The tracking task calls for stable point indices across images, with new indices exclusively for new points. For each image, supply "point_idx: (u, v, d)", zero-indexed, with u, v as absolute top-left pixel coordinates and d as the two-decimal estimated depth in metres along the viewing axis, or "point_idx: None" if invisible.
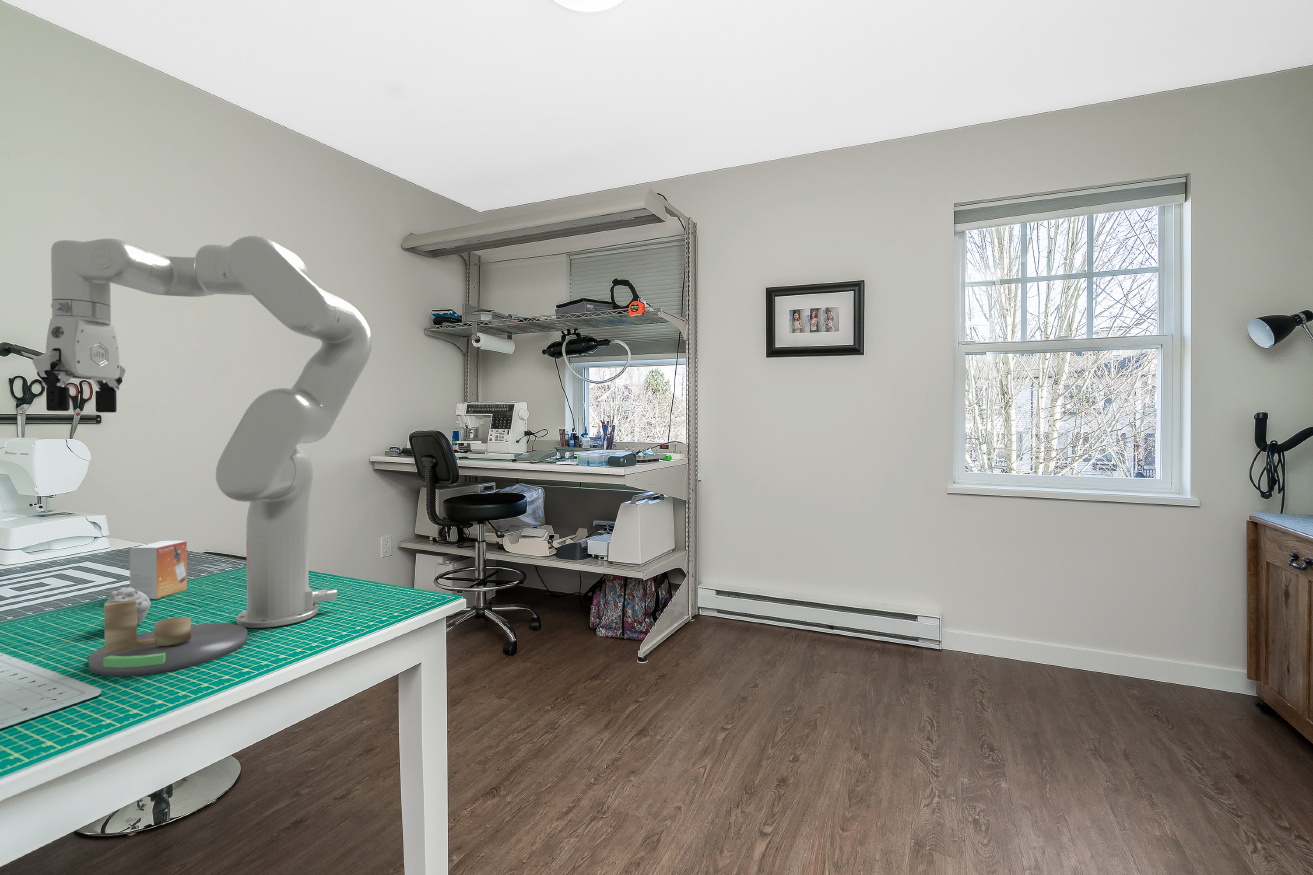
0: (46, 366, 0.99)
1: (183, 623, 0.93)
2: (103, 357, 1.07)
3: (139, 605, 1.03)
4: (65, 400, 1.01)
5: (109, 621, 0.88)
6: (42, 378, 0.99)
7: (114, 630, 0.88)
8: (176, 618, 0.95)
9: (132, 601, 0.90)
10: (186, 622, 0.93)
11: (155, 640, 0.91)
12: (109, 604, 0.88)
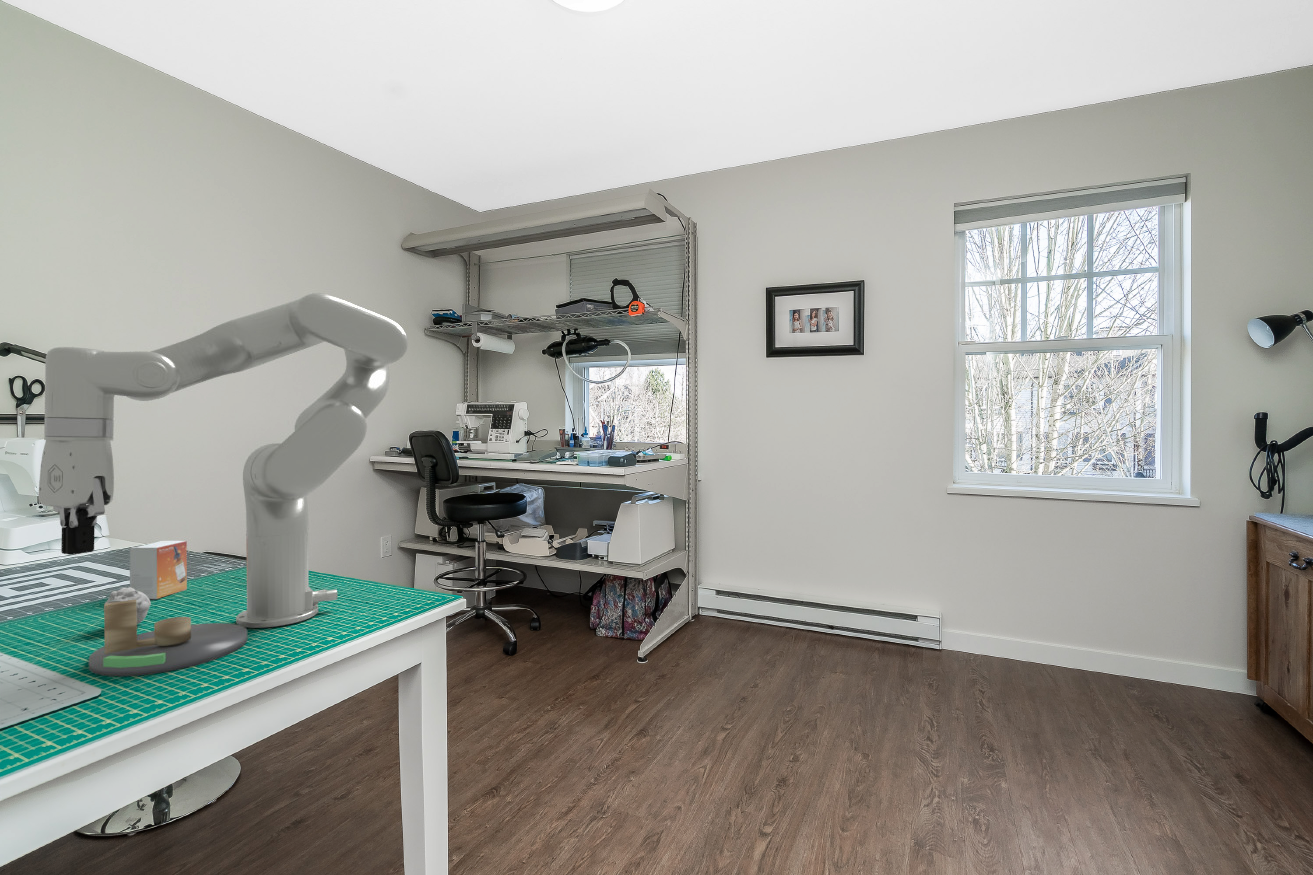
0: (58, 508, 0.92)
1: (183, 623, 0.93)
2: (59, 481, 0.88)
3: (139, 605, 1.03)
4: None
5: (109, 621, 0.88)
6: None
7: (114, 630, 0.88)
8: (176, 618, 0.95)
9: (132, 601, 0.90)
10: (186, 622, 0.93)
11: (155, 640, 0.91)
12: (109, 604, 0.88)
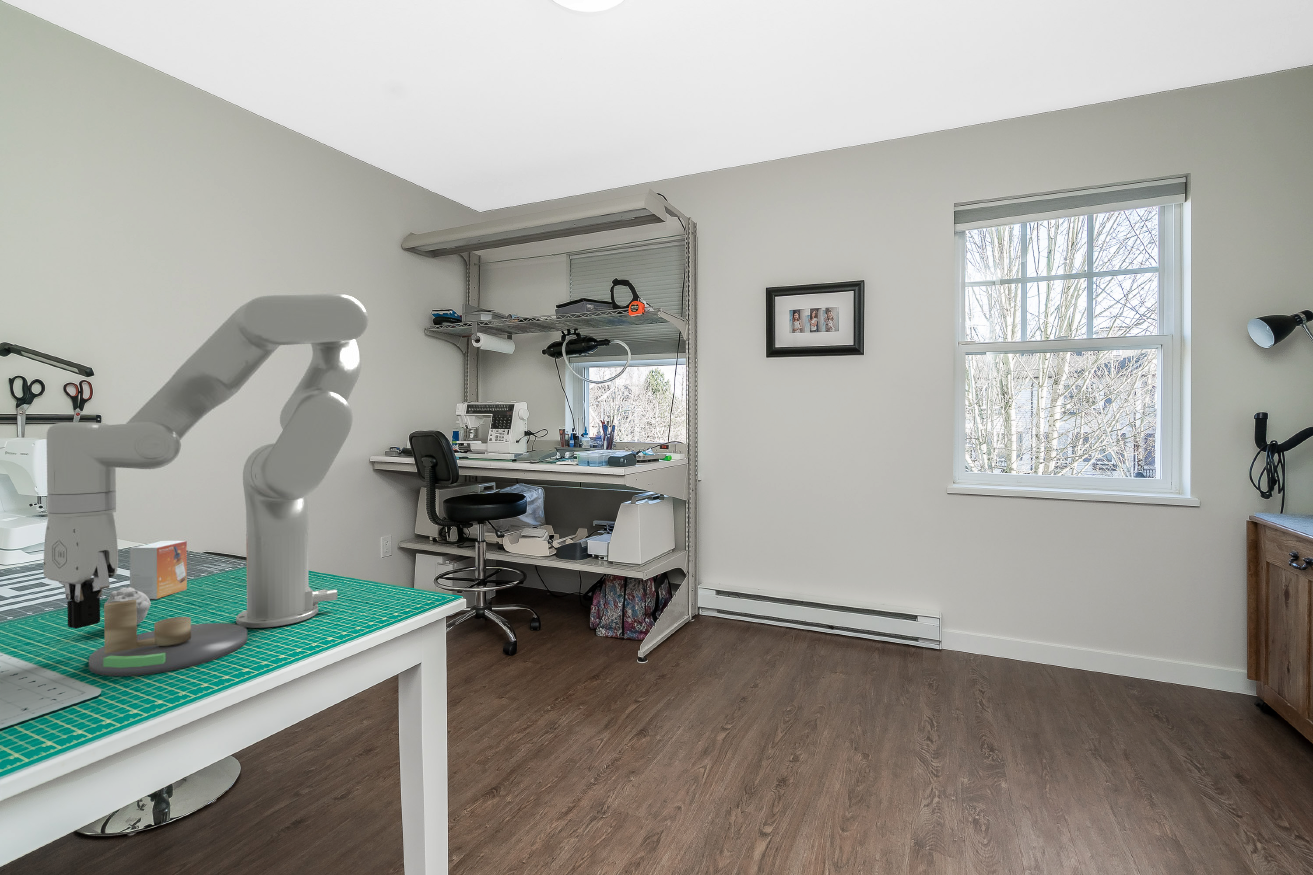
0: None
1: (183, 623, 0.93)
2: (63, 557, 0.88)
3: (139, 605, 1.03)
4: None
5: (109, 621, 0.88)
6: None
7: (114, 630, 0.88)
8: (176, 618, 0.95)
9: (132, 601, 0.90)
10: (186, 622, 0.93)
11: (155, 640, 0.91)
12: (109, 604, 0.88)
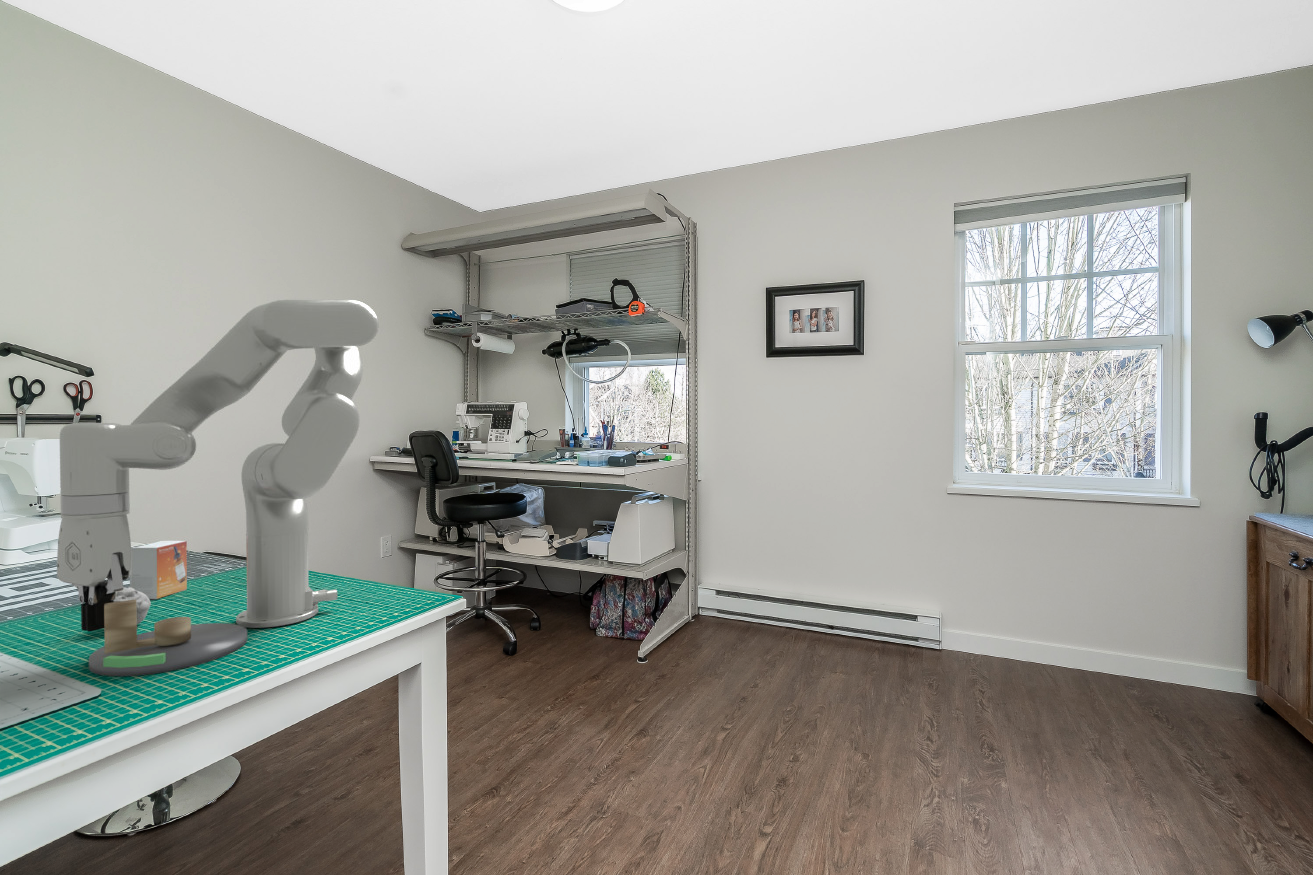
0: None
1: (183, 623, 0.93)
2: (76, 559, 0.87)
3: (139, 605, 1.03)
4: None
5: (109, 621, 0.88)
6: None
7: (114, 630, 0.88)
8: (176, 618, 0.95)
9: (132, 601, 0.90)
10: (186, 622, 0.93)
11: (155, 640, 0.91)
12: (109, 604, 0.88)
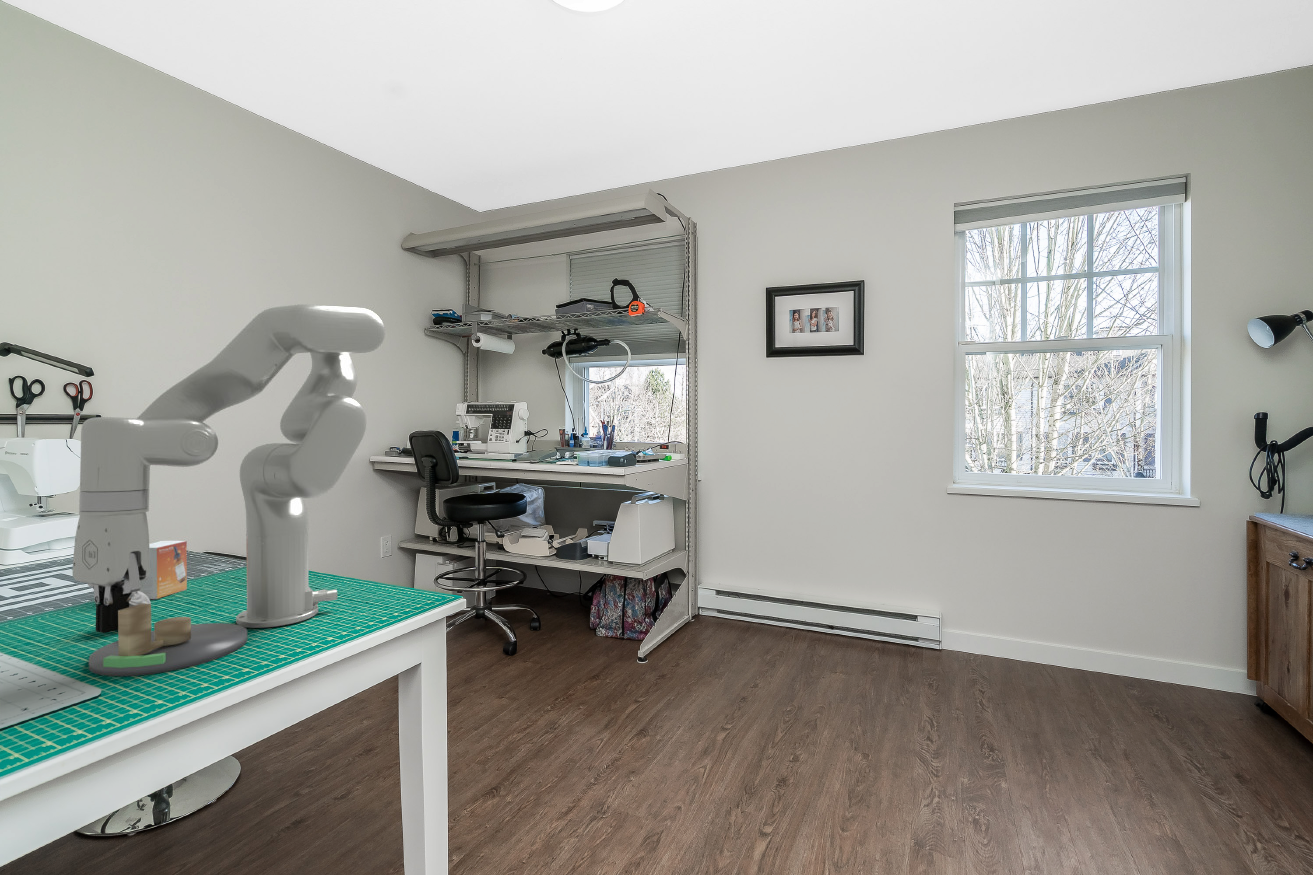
0: None
1: (190, 620, 0.94)
2: (93, 558, 0.84)
3: None
4: None
5: (131, 626, 0.86)
6: None
7: (135, 635, 0.86)
8: (167, 620, 0.94)
9: (145, 604, 0.88)
10: (190, 619, 0.95)
11: (165, 641, 0.91)
12: (127, 609, 0.86)
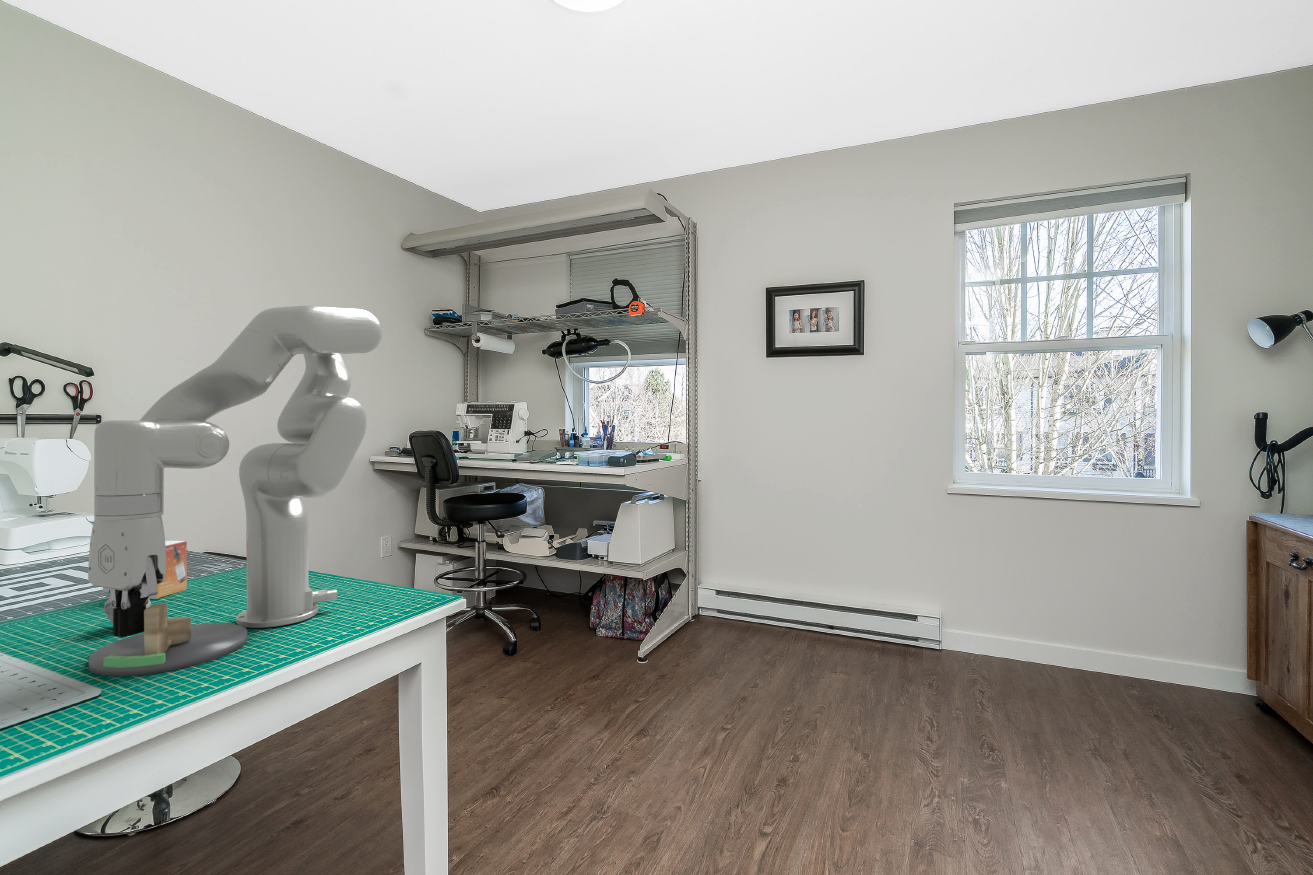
0: None
1: (189, 618, 0.95)
2: (110, 562, 0.84)
3: None
4: None
5: (158, 624, 0.87)
6: None
7: (160, 633, 0.87)
8: None
9: (161, 603, 0.89)
10: (188, 617, 0.95)
11: (173, 640, 0.92)
12: (152, 608, 0.86)
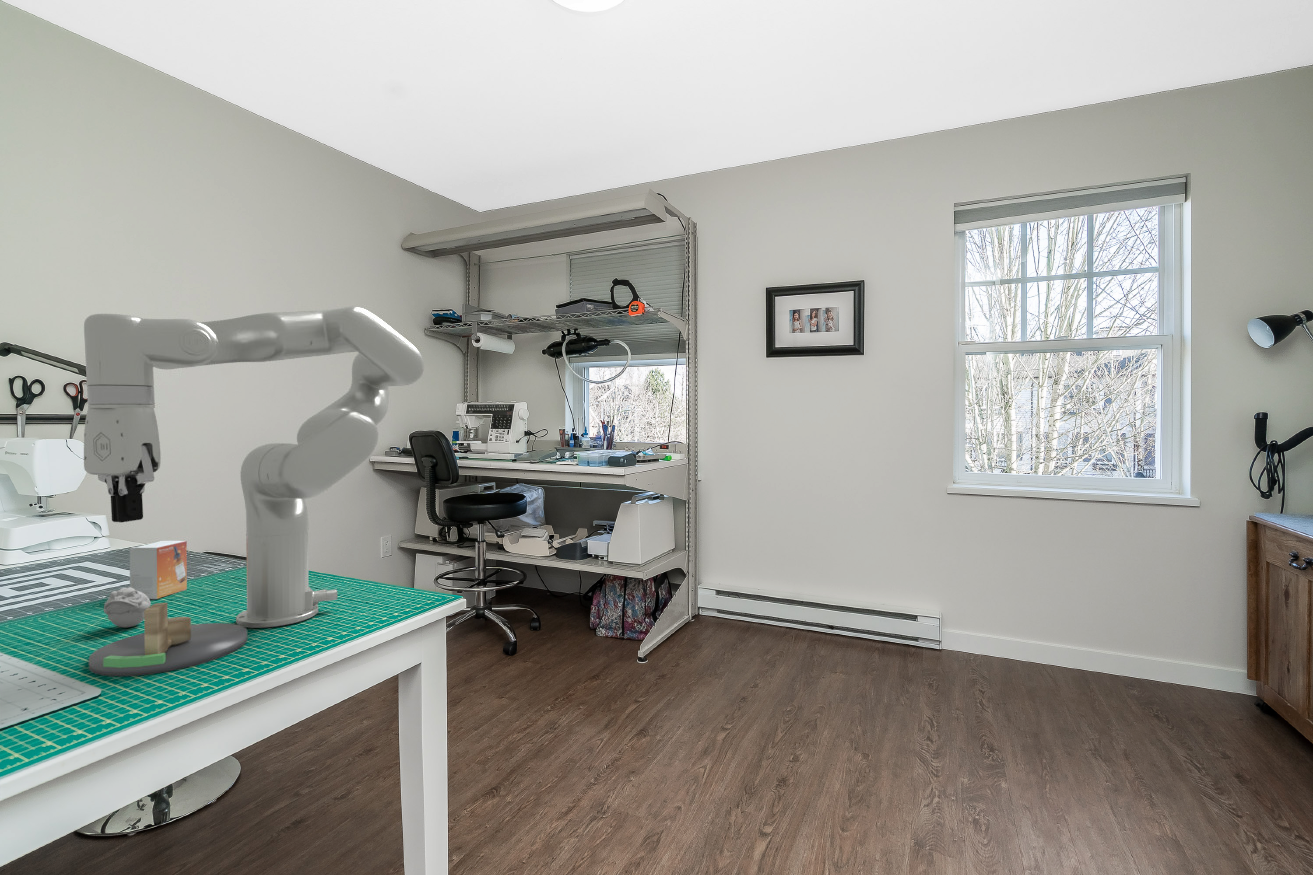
0: (104, 477, 0.91)
1: (189, 618, 0.95)
2: (106, 449, 0.88)
3: (139, 605, 1.03)
4: None
5: (159, 624, 0.87)
6: None
7: (160, 633, 0.87)
8: None
9: (162, 603, 0.89)
10: (187, 617, 0.95)
11: (173, 639, 0.92)
12: (153, 608, 0.86)
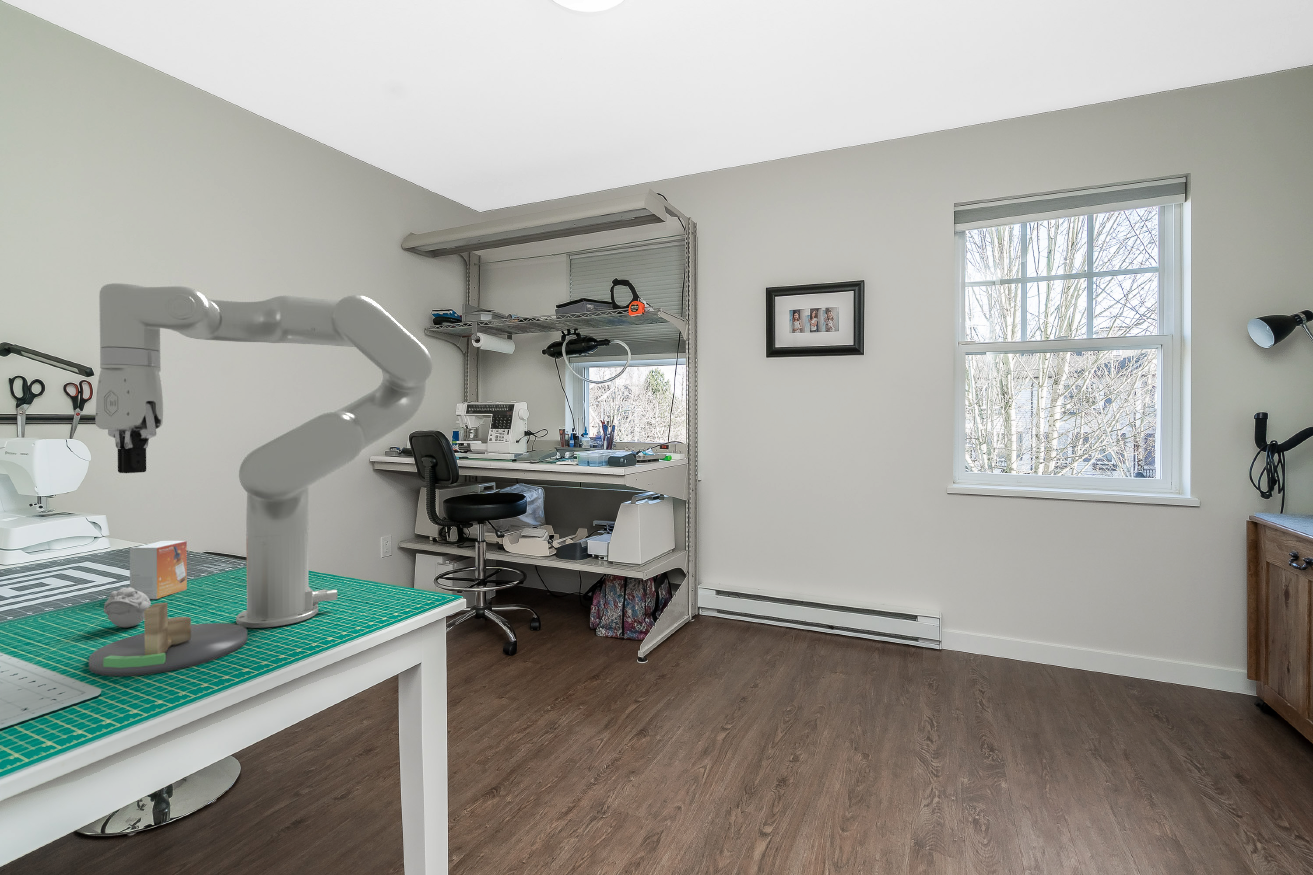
0: (113, 433, 1.00)
1: (189, 618, 0.95)
2: (114, 405, 0.97)
3: (139, 605, 1.03)
4: None
5: (159, 624, 0.87)
6: None
7: (160, 633, 0.87)
8: None
9: (162, 603, 0.89)
10: (187, 617, 0.95)
11: (173, 639, 0.92)
12: (153, 608, 0.86)
